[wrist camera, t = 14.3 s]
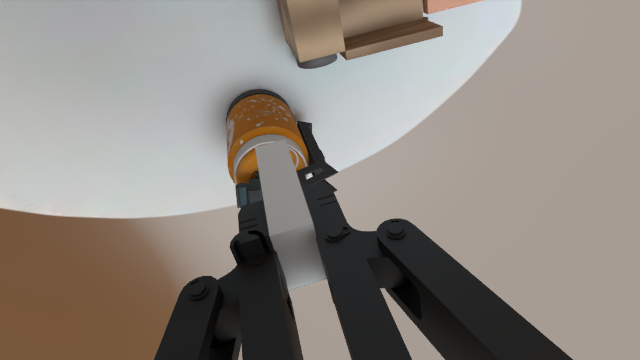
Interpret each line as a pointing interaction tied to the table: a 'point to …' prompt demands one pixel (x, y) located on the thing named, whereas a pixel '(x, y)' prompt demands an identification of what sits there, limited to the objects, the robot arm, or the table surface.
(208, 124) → the table surface
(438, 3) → the panel
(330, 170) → the canister
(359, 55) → the truck
